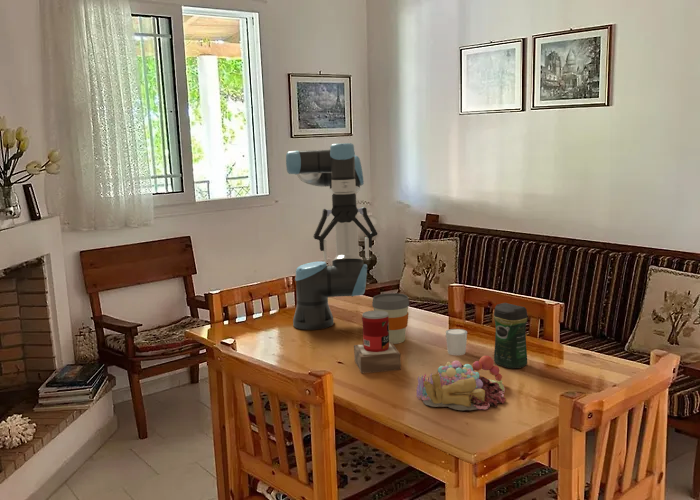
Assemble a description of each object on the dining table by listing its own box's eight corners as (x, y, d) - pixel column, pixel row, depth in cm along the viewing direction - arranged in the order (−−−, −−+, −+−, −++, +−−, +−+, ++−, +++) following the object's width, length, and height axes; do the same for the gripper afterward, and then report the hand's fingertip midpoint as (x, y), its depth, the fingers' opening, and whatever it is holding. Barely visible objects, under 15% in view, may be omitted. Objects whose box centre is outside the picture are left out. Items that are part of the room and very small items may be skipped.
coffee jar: (531, 365, 205) (532, 305, 201) (513, 371, 200) (513, 309, 197) (507, 357, 212) (507, 299, 209) (489, 363, 208) (489, 303, 205)
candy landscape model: (509, 415, 171) (508, 380, 169) (414, 412, 174) (413, 378, 173) (503, 379, 195) (502, 348, 193) (420, 378, 199) (419, 347, 197)
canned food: (387, 352, 205) (386, 317, 203) (361, 351, 206) (359, 316, 204) (391, 344, 212) (390, 310, 210) (365, 344, 214) (364, 310, 212)
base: (354, 360, 215) (353, 344, 214) (391, 357, 217) (391, 341, 216) (361, 373, 203) (360, 356, 202) (400, 369, 205) (400, 352, 204)
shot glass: (469, 350, 221) (469, 329, 220) (464, 357, 215) (464, 335, 213) (449, 348, 224) (449, 327, 222) (443, 354, 217) (442, 333, 216)
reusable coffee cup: (391, 347, 226) (390, 303, 224) (365, 340, 236) (364, 297, 233) (417, 339, 234) (416, 296, 232) (391, 332, 244) (390, 291, 241)
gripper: (305, 195, 210) (308, 264, 213) (385, 191, 213) (387, 258, 217) (303, 194, 217) (306, 259, 220) (380, 190, 221) (382, 254, 224)
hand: (346, 259), depth 219 cm, fingers open, 13 cm apart
